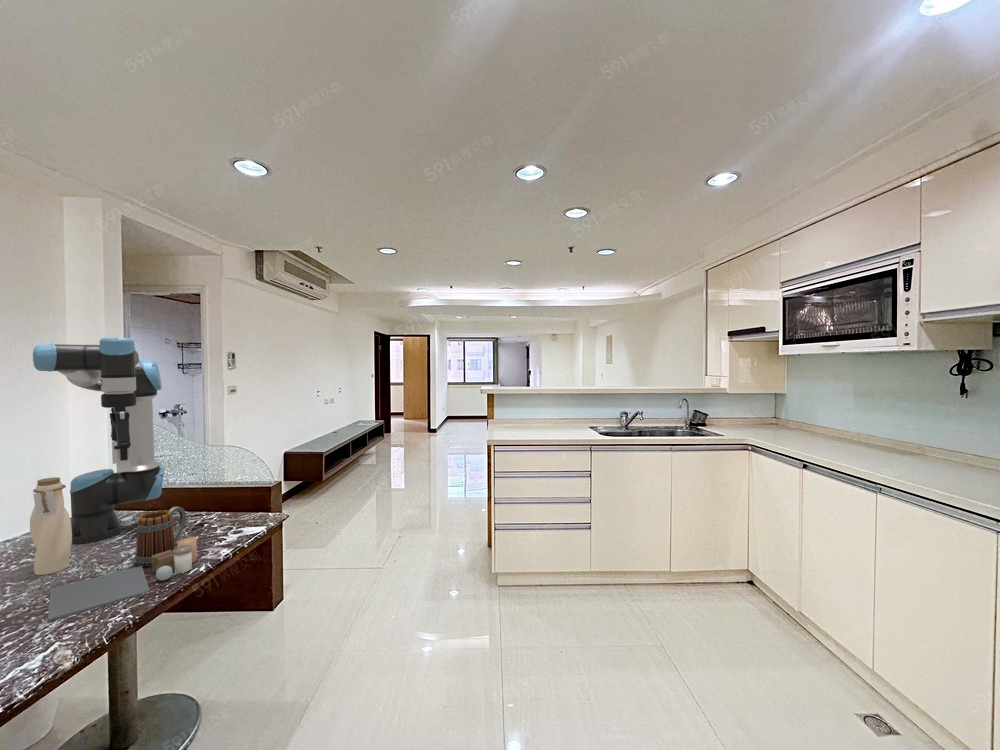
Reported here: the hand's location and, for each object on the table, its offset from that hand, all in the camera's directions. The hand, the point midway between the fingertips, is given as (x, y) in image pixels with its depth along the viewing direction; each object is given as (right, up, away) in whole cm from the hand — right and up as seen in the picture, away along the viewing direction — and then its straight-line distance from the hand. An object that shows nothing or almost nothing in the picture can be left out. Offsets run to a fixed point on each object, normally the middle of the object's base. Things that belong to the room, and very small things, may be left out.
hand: (121, 467), depth 126 cm
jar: (+10, -34, +11) cm, 37 cm away
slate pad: (-4, -34, -2) cm, 35 cm away
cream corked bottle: (-30, -34, +11) cm, 47 cm away
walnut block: (+4, -34, +11) cm, 36 cm away
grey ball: (+8, -32, +5) cm, 34 cm away
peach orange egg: (+7, -34, +16) cm, 38 cm away
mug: (-3, -34, +20) cm, 39 cm away
